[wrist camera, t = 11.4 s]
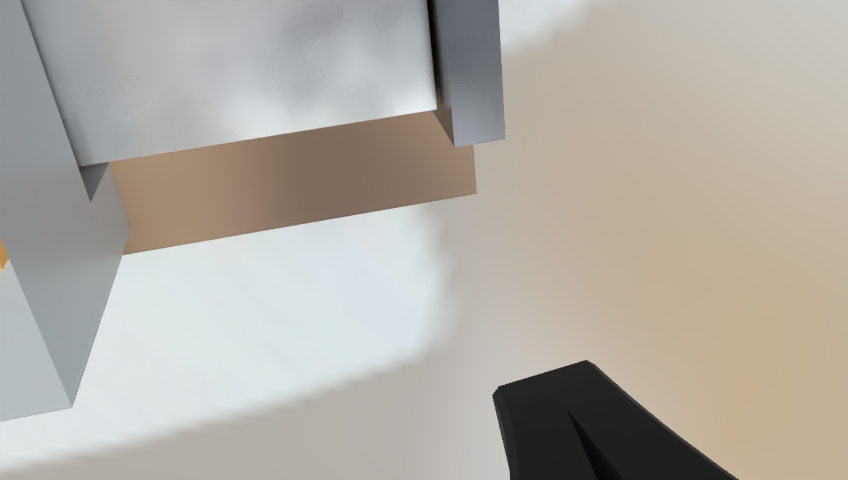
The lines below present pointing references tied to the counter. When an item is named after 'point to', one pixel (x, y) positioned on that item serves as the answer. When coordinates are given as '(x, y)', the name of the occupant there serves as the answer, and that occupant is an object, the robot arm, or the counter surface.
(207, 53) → the din rail
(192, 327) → the counter surface
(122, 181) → the mounting plate
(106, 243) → the block
